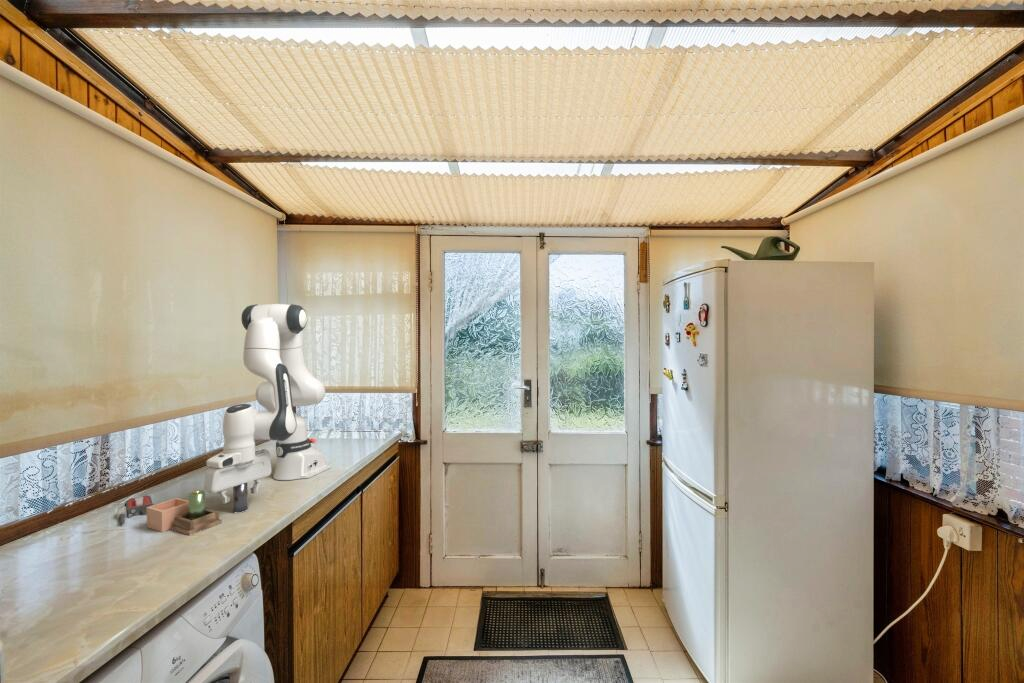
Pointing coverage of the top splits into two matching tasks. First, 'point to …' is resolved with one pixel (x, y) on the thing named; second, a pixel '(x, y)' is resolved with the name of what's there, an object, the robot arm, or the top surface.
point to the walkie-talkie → (134, 507)
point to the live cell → (196, 504)
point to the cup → (166, 513)
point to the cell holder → (196, 522)
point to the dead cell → (240, 498)
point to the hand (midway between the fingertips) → (240, 497)
